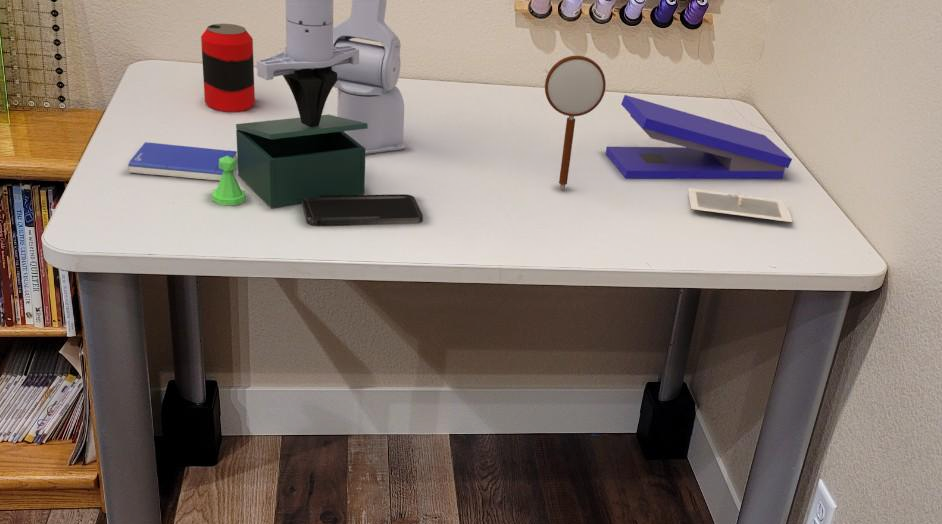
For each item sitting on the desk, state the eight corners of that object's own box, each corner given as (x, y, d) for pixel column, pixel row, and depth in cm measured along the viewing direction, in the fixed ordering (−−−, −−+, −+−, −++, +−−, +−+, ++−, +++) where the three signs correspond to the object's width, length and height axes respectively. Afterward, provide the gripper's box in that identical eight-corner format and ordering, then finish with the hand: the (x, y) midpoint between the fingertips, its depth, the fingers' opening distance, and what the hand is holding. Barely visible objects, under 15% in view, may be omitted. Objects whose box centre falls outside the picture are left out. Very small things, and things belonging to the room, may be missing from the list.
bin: (364, 194, 144) (365, 148, 141) (271, 208, 136) (269, 160, 133) (328, 163, 151) (329, 119, 148) (238, 175, 144) (236, 129, 140)
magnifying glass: (589, 188, 156) (608, 56, 146) (591, 193, 155) (610, 60, 144) (532, 185, 154) (547, 51, 144) (534, 190, 153) (549, 55, 143)
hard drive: (127, 162, 139) (223, 171, 141) (145, 140, 146) (236, 149, 148) (128, 173, 140) (224, 182, 141) (146, 151, 147) (237, 160, 148)
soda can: (217, 93, 170) (213, 19, 164) (262, 101, 170) (260, 27, 164) (196, 107, 164) (191, 30, 158) (243, 115, 163) (240, 38, 157)
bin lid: (368, 128, 139) (367, 123, 139) (270, 139, 131) (270, 134, 131) (329, 119, 148) (328, 114, 148) (236, 129, 140) (235, 124, 140)
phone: (301, 195, 139) (413, 194, 144) (301, 203, 140) (412, 201, 145) (307, 221, 133) (424, 218, 138) (307, 229, 134) (424, 226, 139)
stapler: (604, 152, 170) (612, 94, 165) (757, 153, 179) (770, 98, 174) (627, 181, 161) (637, 119, 156) (788, 180, 170) (802, 122, 165)
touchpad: (790, 228, 153) (794, 215, 152) (689, 215, 152) (692, 202, 151) (783, 207, 160) (786, 194, 158) (686, 194, 159) (689, 181, 158)
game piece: (206, 194, 138) (204, 151, 135) (239, 190, 140) (237, 147, 137) (218, 207, 135) (215, 164, 132) (250, 203, 137) (249, 160, 134)
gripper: (335, 5, 137) (334, 105, 144) (240, 17, 127) (244, 124, 134) (370, 19, 134) (368, 121, 141) (276, 33, 123) (278, 142, 130)
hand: (310, 124), depth 137 cm, fingers closed
